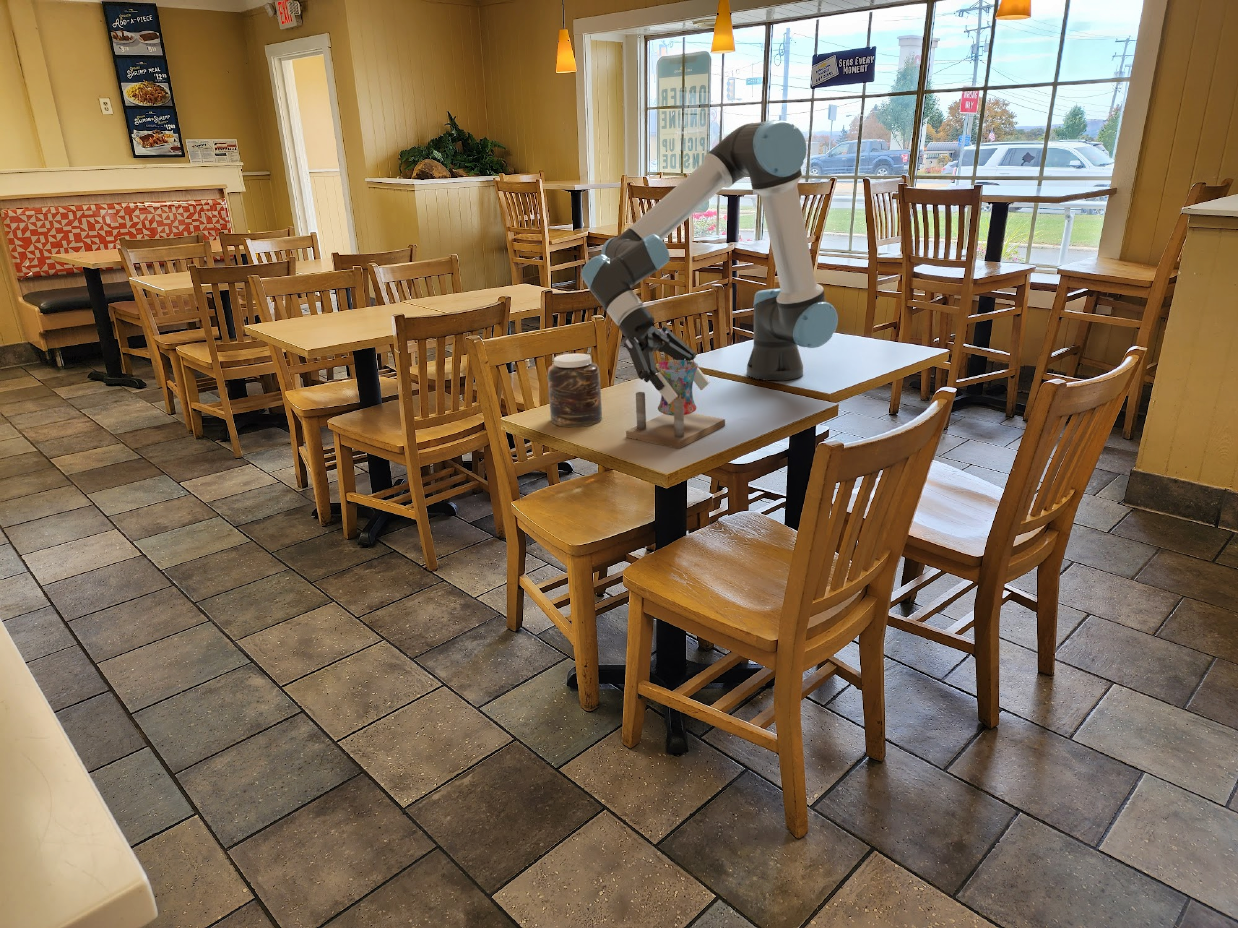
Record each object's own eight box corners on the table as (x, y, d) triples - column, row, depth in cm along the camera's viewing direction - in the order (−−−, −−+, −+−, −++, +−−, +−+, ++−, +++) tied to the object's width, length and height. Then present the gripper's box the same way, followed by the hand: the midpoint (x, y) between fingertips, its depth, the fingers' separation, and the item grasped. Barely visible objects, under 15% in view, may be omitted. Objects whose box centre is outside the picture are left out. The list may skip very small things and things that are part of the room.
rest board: (673, 415, 189) (672, 376, 186) (725, 425, 181) (725, 384, 178) (626, 437, 176) (624, 395, 173) (679, 448, 168) (678, 404, 165)
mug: (687, 420, 172) (686, 372, 168) (648, 415, 176) (647, 368, 172) (710, 405, 181) (710, 359, 177) (672, 401, 186) (672, 355, 182)
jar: (583, 409, 198) (579, 349, 192) (611, 420, 189) (608, 357, 184) (542, 420, 191) (537, 357, 186) (569, 431, 182) (564, 366, 177)
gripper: (654, 318, 190) (709, 390, 187) (587, 337, 173) (647, 417, 169) (672, 297, 185) (729, 370, 182) (605, 314, 168) (667, 396, 164)
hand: (689, 393), depth 176 cm, fingers closed on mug, 12 cm apart
